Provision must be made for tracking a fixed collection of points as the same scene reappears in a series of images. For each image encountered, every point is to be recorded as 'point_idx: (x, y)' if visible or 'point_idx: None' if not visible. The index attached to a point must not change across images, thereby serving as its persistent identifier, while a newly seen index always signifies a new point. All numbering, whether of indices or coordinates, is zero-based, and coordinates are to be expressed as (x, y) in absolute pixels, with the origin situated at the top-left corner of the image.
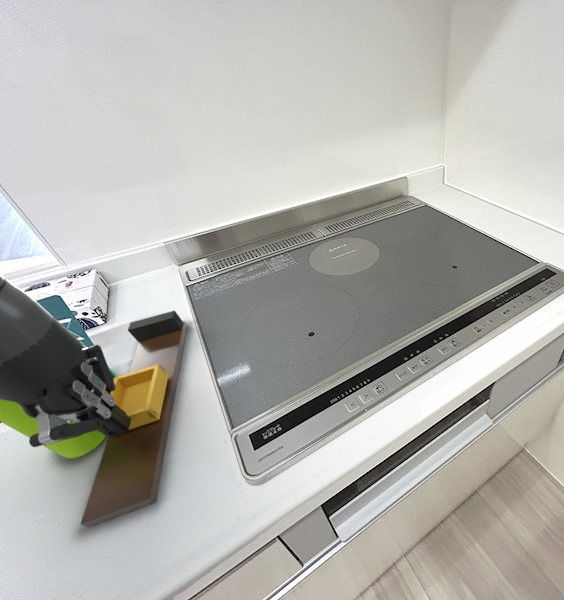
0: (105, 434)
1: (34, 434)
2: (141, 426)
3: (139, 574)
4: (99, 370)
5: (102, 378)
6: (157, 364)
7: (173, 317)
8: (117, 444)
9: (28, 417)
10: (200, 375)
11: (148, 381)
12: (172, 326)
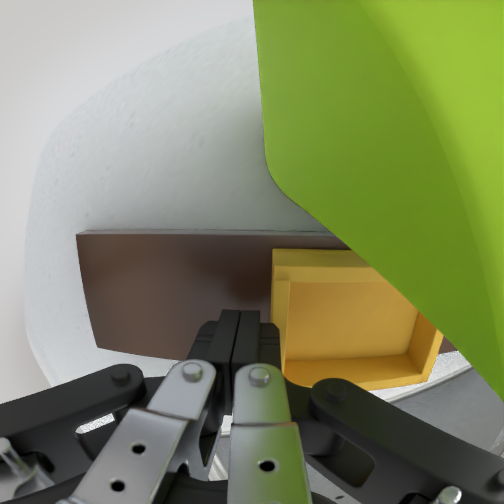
0: (199, 333)
1: None
2: None
3: (35, 318)
4: (368, 501)
5: (340, 480)
6: None
7: None
8: (239, 268)
9: (269, 137)
10: (374, 390)
11: (411, 324)
12: None
